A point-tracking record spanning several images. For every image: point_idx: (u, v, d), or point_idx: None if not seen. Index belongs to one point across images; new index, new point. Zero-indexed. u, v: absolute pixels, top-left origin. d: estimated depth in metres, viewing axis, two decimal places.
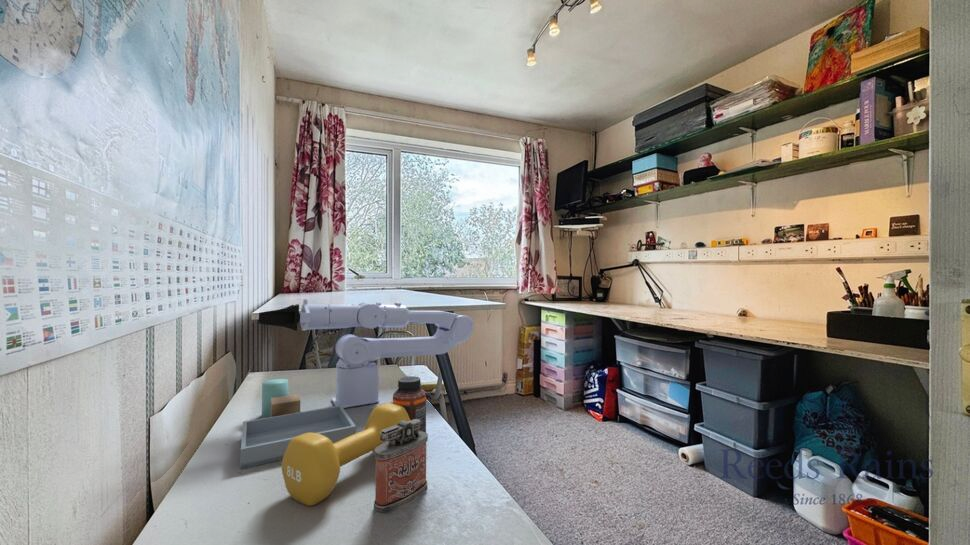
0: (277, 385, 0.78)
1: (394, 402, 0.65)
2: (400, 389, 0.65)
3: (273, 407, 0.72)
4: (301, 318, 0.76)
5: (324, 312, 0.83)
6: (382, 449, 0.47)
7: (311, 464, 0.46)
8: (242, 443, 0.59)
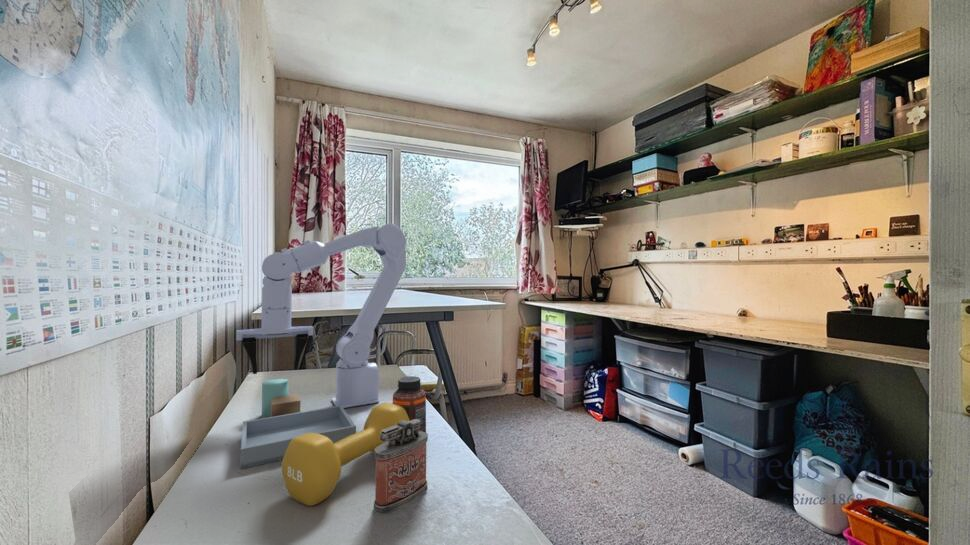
0: (277, 385, 0.78)
1: (394, 402, 0.65)
2: (400, 389, 0.65)
3: (273, 407, 0.72)
4: None
5: None
6: (382, 449, 0.47)
7: (313, 464, 0.46)
8: (242, 443, 0.59)
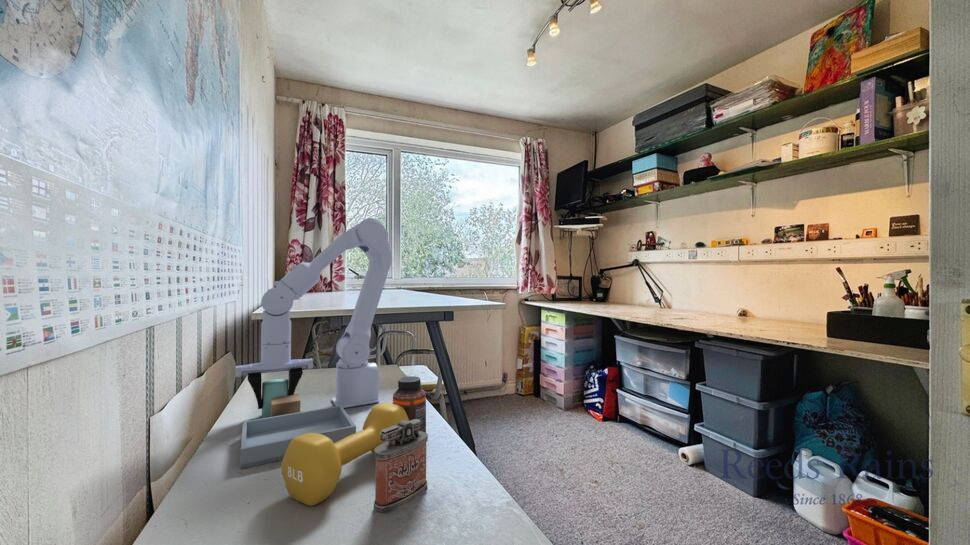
0: (277, 385, 0.78)
1: (394, 402, 0.65)
2: (400, 389, 0.65)
3: (273, 407, 0.72)
4: (236, 375, 0.76)
5: None
6: (382, 449, 0.47)
7: (313, 464, 0.46)
8: (242, 443, 0.59)
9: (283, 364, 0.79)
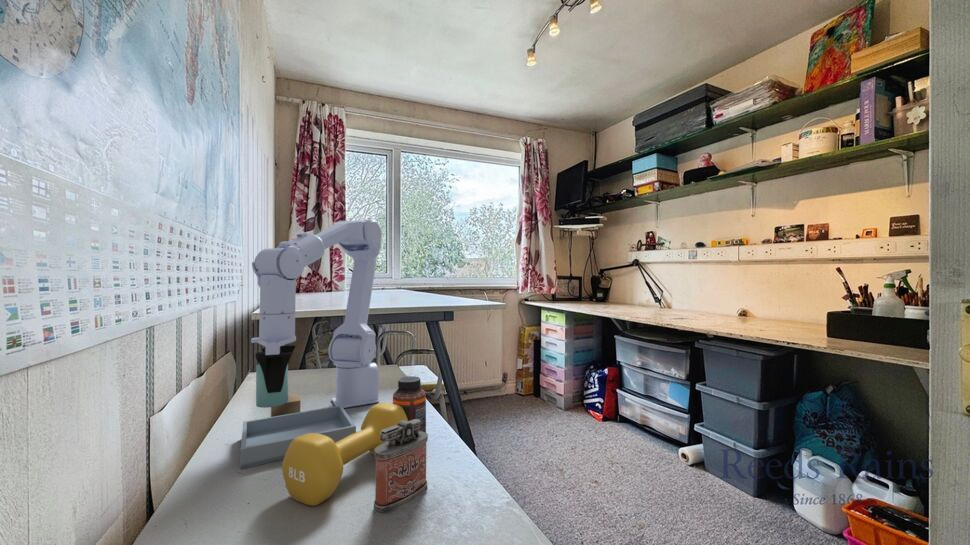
0: None
1: (394, 402, 0.65)
2: (400, 389, 0.65)
3: (273, 407, 0.72)
4: (273, 353, 0.61)
5: (270, 320, 0.65)
6: (382, 449, 0.47)
7: (316, 464, 0.46)
8: (242, 443, 0.59)
9: None
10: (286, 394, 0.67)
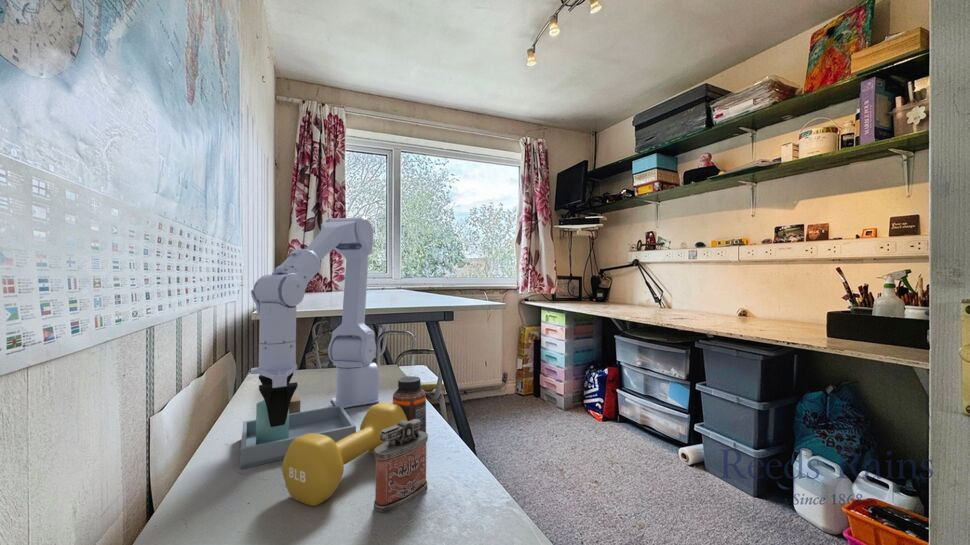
0: None
1: (394, 402, 0.65)
2: (400, 389, 0.65)
3: None
4: (280, 385, 0.59)
5: (272, 350, 0.63)
6: (382, 449, 0.47)
7: (317, 464, 0.46)
8: (242, 443, 0.59)
9: None
10: (287, 433, 0.65)
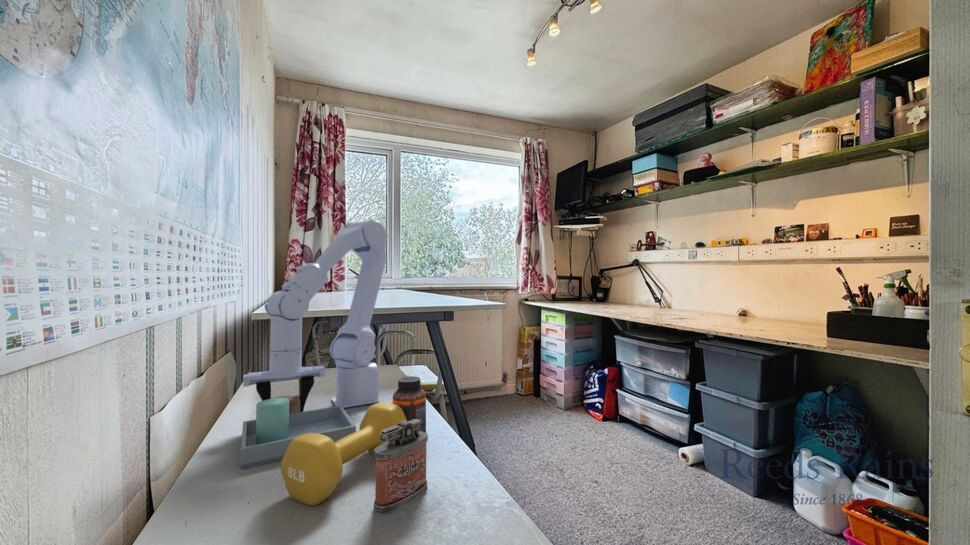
0: (288, 401, 0.66)
1: (394, 402, 0.65)
2: (400, 389, 0.65)
3: None
4: None
5: None
6: (382, 449, 0.47)
7: (315, 464, 0.47)
8: (242, 443, 0.59)
9: (294, 372, 0.73)
10: (287, 433, 0.65)
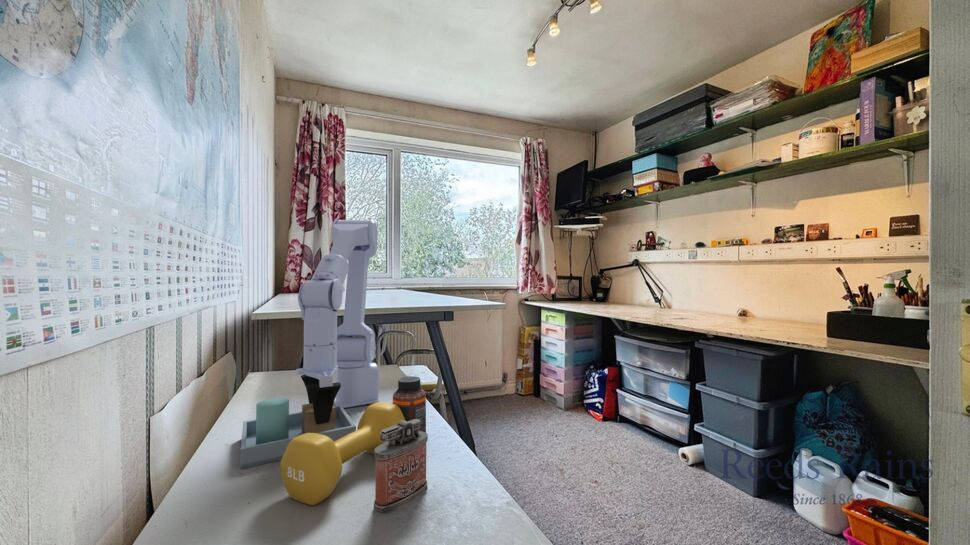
0: (288, 401, 0.66)
1: (394, 402, 0.65)
2: (400, 389, 0.65)
3: None
4: (327, 385, 0.63)
5: (317, 352, 0.66)
6: (382, 449, 0.47)
7: (315, 464, 0.47)
8: (242, 443, 0.59)
9: None
10: (287, 433, 0.65)
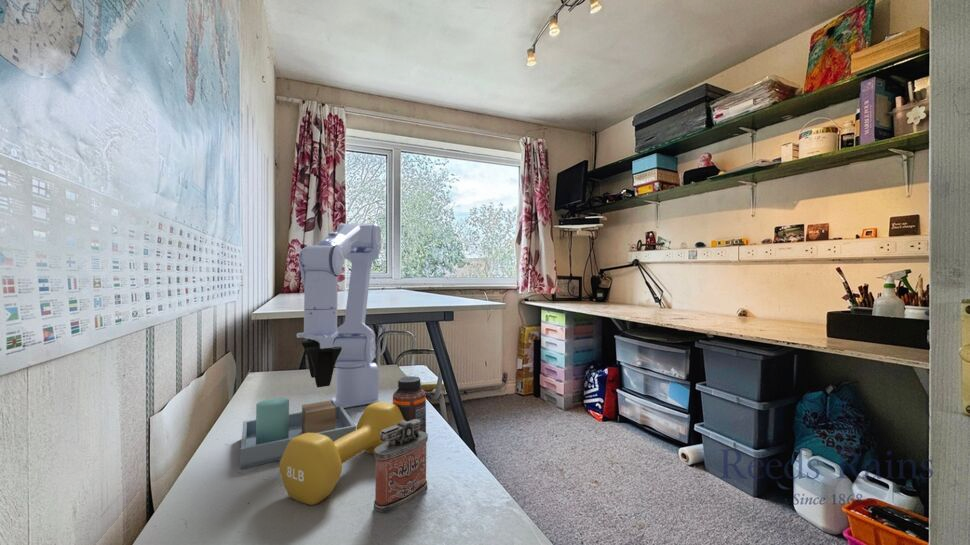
0: (288, 401, 0.66)
1: (394, 402, 0.65)
2: (400, 389, 0.65)
3: None
4: (327, 346, 0.63)
5: (317, 315, 0.66)
6: (382, 449, 0.47)
7: (315, 463, 0.47)
8: (242, 443, 0.59)
9: None
10: (287, 433, 0.65)
